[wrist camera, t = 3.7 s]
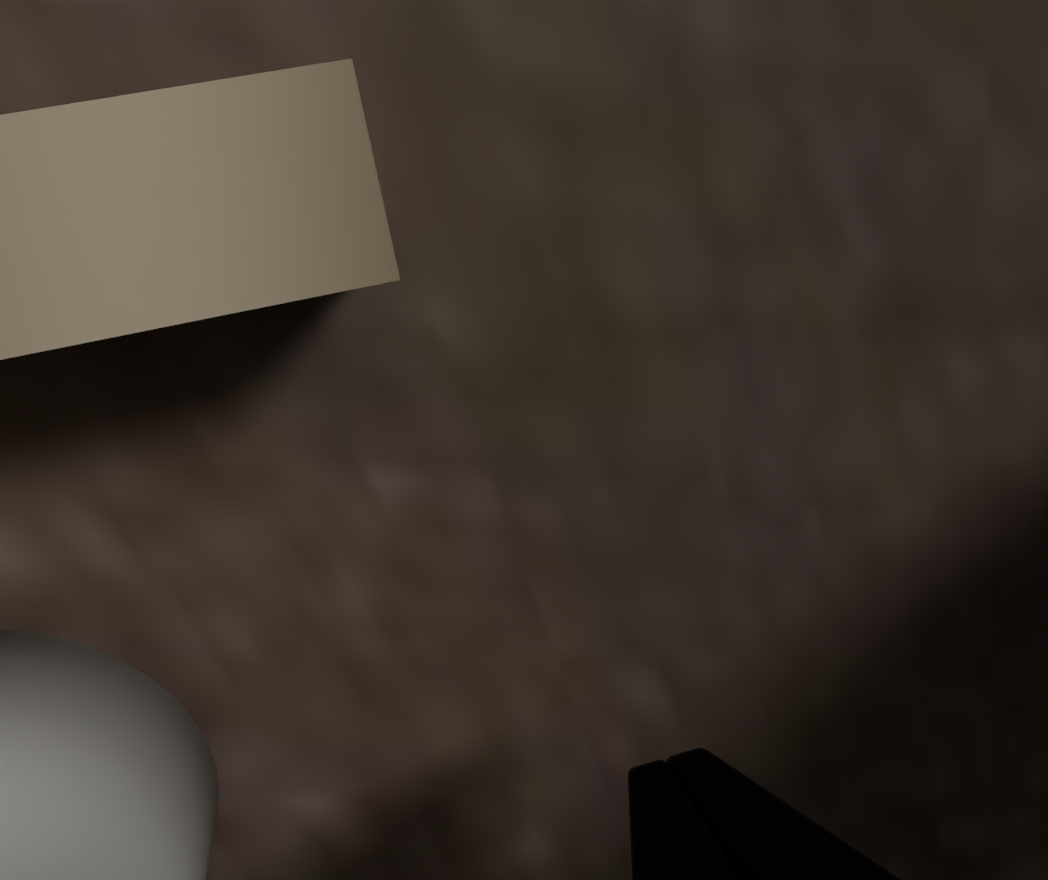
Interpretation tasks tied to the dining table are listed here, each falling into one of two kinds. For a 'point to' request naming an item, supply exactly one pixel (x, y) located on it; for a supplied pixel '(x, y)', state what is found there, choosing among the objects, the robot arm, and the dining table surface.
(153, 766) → the grey egg-shaped dome
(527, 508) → the dining table surface
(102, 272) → the oak rail
